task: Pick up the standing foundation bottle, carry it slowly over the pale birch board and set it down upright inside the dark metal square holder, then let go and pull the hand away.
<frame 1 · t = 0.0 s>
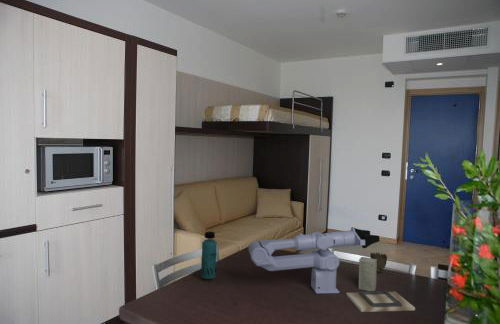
hand: (374, 235, 136), 22 cm above the table, tool horizontal, fingers open, 7 cm apart
socket board: (379, 302, 125), on the table
skincare box: (366, 289, 137), on the table
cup: (378, 272, 156), on the table
beverage bottle: (208, 279, 141), on the table
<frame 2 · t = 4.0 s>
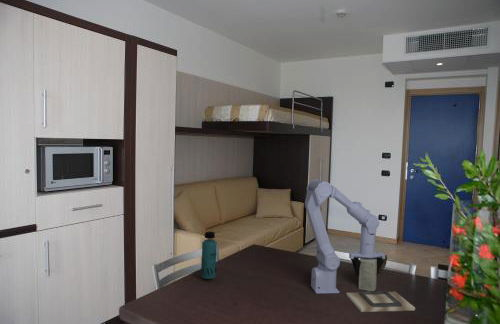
hand: (366, 275, 138), 5 cm above the table, tool pointing down, fingers closed on skincare box, 7 cm apart
skincare box: (367, 289, 137), on the table, touching gripper
everything else where it was.
when the fingers open (7 cm above the table, at t = 12.1 s): skincare box stays where it is, resting on socket board.
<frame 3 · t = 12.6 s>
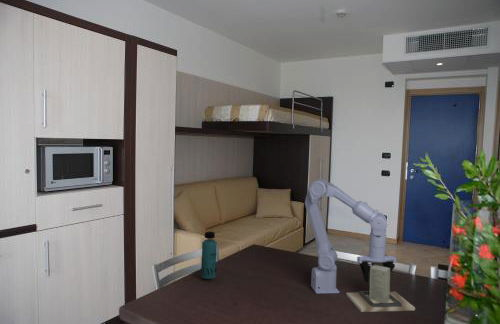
hand: (375, 281, 128), 7 cm above the table, tool pointing down, fingers open, 7 cm apart
skincare box: (378, 300, 125), point 1 cm above the table, touching gripper, socket board
everything else where it was.
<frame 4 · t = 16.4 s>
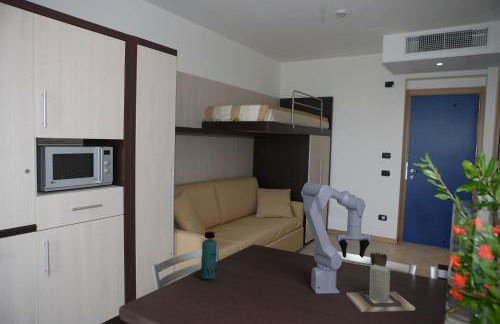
hand: (352, 256, 144), 10 cm above the table, tool pointing down, fingers open, 7 cm apart
skincare box: (378, 300, 125), point 1 cm above the table, touching socket board
everything else where it was.
at the end: skincare box 0.1 cm off-centre on the socket board, point 0.8 cm above the socket board's base; skincare box tilted 0°; the gripper is holding nothing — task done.
